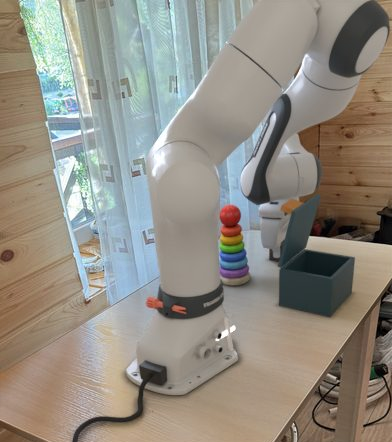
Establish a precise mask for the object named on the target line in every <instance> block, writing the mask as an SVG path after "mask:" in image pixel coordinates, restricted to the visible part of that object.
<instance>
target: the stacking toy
mask: <svg viewBox="0 0 392 442" xmlns="http://www.w3.org/2000/svg"><path fill="white" fill-rule="evenodd" d="M241 219H242V213H241V210H240V208H239V207H238V206H237V205H235V204H226V205H224V206H222V208H220V218H219V222H220V223H221V224H222V225H221V227H220V229H219V232H220V234H221V235H220V237H219V241H220V243H219V249H220V250H219V267H220V279H221V280H222V282H223V285H226V286H241V285H243V284H245V283H247V282H248V281H250V279H251V272H250V265H249V264H248V262H249V258H248V257H247V250H246V248H245V247H246V245H245V242H244V235H243V233H242V231H243V227H242V225H240V224H239V223H240V221H241Z"/></svg>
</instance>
